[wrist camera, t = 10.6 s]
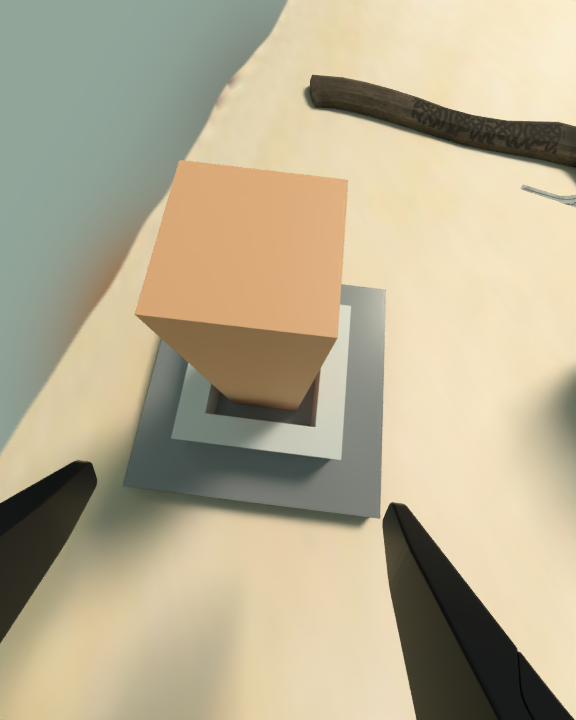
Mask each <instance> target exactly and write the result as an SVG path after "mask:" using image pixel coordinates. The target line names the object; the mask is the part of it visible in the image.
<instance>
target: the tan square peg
mask: <svg viewBox="0 0 576 720" xmlns="http://www.w3.org/2000/svg"><path fill="white" fill-rule="evenodd" d="M347 189H348V180H344V179H336V178H327V177H319V176H310V175H302V174H293V173H285V172H276V171H268V170H259V169H251V168H242V167H234V166H225V165H216V164H208V163H199V162H191V161H182V160H179V163H178V167H177V170H176V174H175V177H174V180H173V184H172V187H171V191H170V194H169V198H168V201H167V205H166V208H165V211H164V215H163V218H162V222H161V225H160V229H159V232H158V236H157V239H156V242H155V246H154V249H153V253H152V256H151V260H150V263H149V267H148V270H147V274H146V277H145V280H144V284H143V287H142V291H141V294H140V298H139V301H138V305H137V308H136V311H135V315H136V316H137V317H138V318H139V319H140V320H142V321H143V322H144V323H145V324H146V325H147V326H148V327H149V328H150V329H152V330H153V331H154V332H155V333H156V334H157V335H158V336H159V337H160V338H161V339H163V340H164V341H165V342H166V343H167V344H168V345H169V346H170V347H171V348H173V349H174V350H175V351H176V352H177V353H178V354H179V355H180V356H181V357H183V358H184V359H185V360H186V361H187V362H188V363H189V364H190V365H191V366H193V367H194V368H195V369H196V370H197V371H198V372H199V373H200V374H201V375H203V376H204V377H205V378H206V379H207V380H208V381H209V382H210V383H211V384H212V385H214V386H215V387H216V388H217V389H218V390H219V391H220V392H221V393H222V394H224V395H225V396H226V397H227V398H228V399H229V400H230V401H231V402H232V403H234V404H241V405H250V406H259V407H267V408H276V409H284V410H293V411H297V409H298V407H299V405H300V404H301V402H302V400H303V398H304V397H305V395H306V393H307V391H308V390H309V388H310V386H311V384H312V382H313V381H314V379H315V377H316V375H317V374H318V372H319V370H320V368H321V367H322V365H323V363H324V361H325V360H326V358H327V356H328V354H329V353H330V351H331V349H332V347H333V346H334V344H335V342H336V340H337V338H338V327H339V312H340V296H341V281H342V266H343V250H344V235H345V220H346V205H347Z"/></svg>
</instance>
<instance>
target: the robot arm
mask: <svg viewBox="0 0 576 720" xmlns="http://www.w3.org/2000/svg"><path fill="white" fill-rule="evenodd" d="M96 485H97V478H96V474H95V471H94V468H93V465H92V463H91V462H88V461H80V460H77V461H74V462H72V463H70V464H68V465H67V466H65V467H63V468H61V469H60V470H58V471H56V472H54V473H53V474H51V475H49V476H47V477H46V478H44V479H42V480H40V481H38V482H37V483H35V484H33V485H31V486H30V487H28V488H26V489H24V490H23V491H21V492H19V493H17V494H16V495H14V496H12V497H10V498H9V499H7V500H5V501H3V502H2V503H0V643H1V641H2V640H3V638H4V637H5V635H6V634H7V632H8V631H9V629H10V628H11V626H12V625H13V623H14V622H15V620H16V619H17V617H18V615H19V614H20V612H21V611H22V609H23V608H24V606H25V605H26V603H27V602H28V600H29V599H30V597H31V596H32V594H33V592H34V591H35V589H36V588H37V586H38V585H39V583H40V582H41V580H42V579H43V577H44V576H45V574H46V573H47V571H48V570H49V568H50V566H51V565H52V563H53V562H54V560H55V559H56V557H57V556H58V554H59V553H60V551H61V550H62V548H63V546H64V545H65V543H66V542H67V540H68V538H69V536H70V535H71V533H72V531H73V529H74V527H75V525H76V524H77V522H78V520H79V518H80V516H81V514H82V512H83V510H84V509H85V507H86V505H87V503H88V501H89V499H90V497H91V495H92V494H93V492H94V490H95V488H96ZM383 535H384V545H385V554H386V563H387V572H388V580H389V587H390V593H391V598H392V603H393V608H394V612H395V617H396V622H397V627H398V632H399V637H400V641H401V646H402V651H403V656H404V661H405V666H406V671H407V675H408V680H409V685H410V690H411V695H412V700H413V705H414V709H415V714H416V719H417V720H574V718H573V717H572V716H571V715H570V714H569V712H568V711H567V710H566V709H565V708H564V706H563V705H562V704H561V703H560V701H559V700H558V699H557V698H556V696H555V695H554V694H553V693H552V691H551V690H550V689H549V688H548V686H547V685H546V684H545V683H544V681H543V680H542V679H541V678H540V676H539V675H538V674H537V673H536V671H535V670H534V669H533V668H532V666H531V665H530V664H529V662H528V661H527V660H526V659H525V657H524V656H523V655H522V653H521V652H518V650H517V647H516V646H515V645H514V643H513V642H512V641H511V639H510V638H509V637H508V636H507V634H506V633H505V632H504V630H503V629H502V628H501V627H500V625H499V624H498V623H497V621H496V620H495V619H494V618H493V616H492V615H491V614H490V612H489V611H488V610H487V609H486V607H485V606H484V605H483V603H482V602H481V601H480V600H479V598H478V597H477V596H476V594H475V593H474V592H473V591H472V589H471V588H470V587H469V585H468V584H467V583H466V582H465V580H464V579H463V578H462V576H461V575H460V574H459V573H458V571H457V570H456V569H455V567H454V566H453V565H452V564H451V562H450V561H449V560H448V558H447V557H446V556H445V555H444V553H443V552H442V551H441V549H440V548H439V547H438V546H437V544H436V543H435V542H434V540H433V539H432V538H431V537H430V535H429V534H428V533H427V531H426V530H425V529H424V528H423V526H422V525H421V524H420V522H419V521H418V520H417V519H416V517H415V516H414V515H413V513H412V512H411V511H410V510H409V508H408V507H407V506H406V505H405V504H401V503H394V502H392V503H390V505H389V507H388V509H387V511H386V513H385V516H384V518H383Z"/></svg>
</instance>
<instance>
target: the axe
mask: <svg viewBox="0 0 576 720" xmlns="http://www.w3.org/2000/svg"><path fill="white" fill-rule="evenodd" d="M310 94H311V98H312V102H313V104H314V105H315V107H322V108H336V109H341V110H346V111H351V112H356V113H359V114H363V115H367V116H371V117H375V118H379V119H382V120H385V121H389V122H392V123H395V124H399V125H402V126H405V127H408V128H411V129H414V130H417V131H421V132H424V133H427V134H430V135H433V136H436V137H439V138H443V139H446V140H449V141H452V142H456V143H459V144H462V145H467V146H472V147H477V148H482V149H487V150H492V151H497V152H503V153H508V154H513V155H519V156H525V157H530V158H535V159H541V160H546V161H550V162H555V163H559V164H564V165H568V166H573V167H576V126H572V125H568V124H564V123H560V122H533V121H506V120H499V119H493V118H487V117H481V116H474V115H470V114H467V113H463V112H459V111H455V110H452V109H448V108H445V107H442V106H439V105H437V104H434V103H431V102H429V101H426V100H423V99H421V98H418V97H415V96H411V95H408V94H405V93H402V92H399V91H396V90H392V89H389V88H385V87H381V86H378V85H374V84H370V83H366V82H362V81H358V80H353V79H348V78H343V77H331V76H319V75H312V77H311V80H310ZM521 189H522V190H525V191H528V192H531V193H534V194H537V195H540V196H543V197H546V198H550V199H553V200H556V201H559V202H561V203H564V204H567V205H570V206H573V207H576V195H571V196H558V195H555V194H552V193H548V192H545V191H542V190H539V189H535V188H532V187H529V186H526V185H523V186H522V188H521Z"/></svg>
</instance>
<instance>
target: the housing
mask: <svg viewBox="0 0 576 720" xmlns="http://www.w3.org/2000/svg"><path fill="white" fill-rule="evenodd" d="M385 306H386V290H382V289H374V288H366V287H358V286H350V285H342V284H341V296H340V312H339V327H338V338H337V340H336V342H335V344H334V346H333V347H332V349H331V351H330V353H329V354H328V356H327V358H326V360H325V361H324V363H323V365H322V367H321V368H320V370H319V372H318V374H317V375H316V377H315V379H314V381H313V382H312V384H311V386H310V388H309V390H308V391H307V393H306V395H305V397H304V398H303V400H302V402H301V404H300V405H299V407H298V409H297V411H293V410H284V409H276V408H267V407H259V406H250V405H241V404H234V403H232V402H231V401H230V400H229V399H228V398H227V397H226V396H225V395H224V394H222V393H221V392H220V391H219V390H218V389H217V388H216V387H215V386H214V385H212V384H211V383H210V382H209V381H208V380H207V379H206V378H205V377H204V376H203V375H201V374H200V373H199V372H198V371H197V370H196V369H195V368H194V367H193V366H191V365H190V364H189V363H188V362H187V361H186V360H185V359H184V358H183V357H181V356H180V355H179V354H178V353H177V352H176V351H175V350H174V349H173V348H171V347H170V346H169V345H168V344H167V343H166V342H165V341H164V340H163V339H162V340H161V344H160V347H159V351H158V355H157V359H156V363H155V366H154V370H153V374H152V378H151V381H150V385H149V389H148V393H147V397H146V400H145V404H144V408H143V412H142V416H141V419H140V423H139V427H138V431H137V434H136V438H135V442H134V446H133V450H132V453H131V457H130V461H129V465H128V468H127V472H126V476H125V480H124V484H123V486H127V487H135V488H143V489H151V490H159V491H166V492H174V493H182V494H190V495H198V496H206V497H214V498H221V499H229V500H237V501H245V502H253V503H261V504H269V505H277V506H284V507H292V508H300V509H308V510H316V511H324V512H332V513H340V514H347V515H355V516H363V517H371V518H379V519H380V496H381V458H382V420H383V382H384V344H385Z"/></svg>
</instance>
